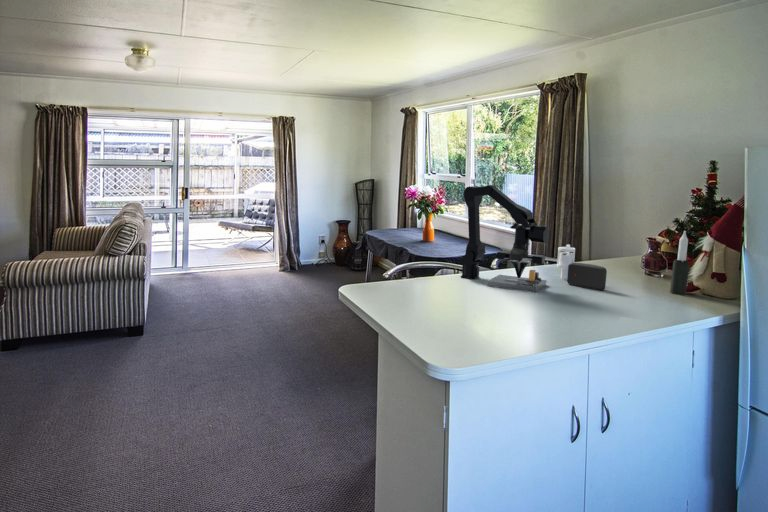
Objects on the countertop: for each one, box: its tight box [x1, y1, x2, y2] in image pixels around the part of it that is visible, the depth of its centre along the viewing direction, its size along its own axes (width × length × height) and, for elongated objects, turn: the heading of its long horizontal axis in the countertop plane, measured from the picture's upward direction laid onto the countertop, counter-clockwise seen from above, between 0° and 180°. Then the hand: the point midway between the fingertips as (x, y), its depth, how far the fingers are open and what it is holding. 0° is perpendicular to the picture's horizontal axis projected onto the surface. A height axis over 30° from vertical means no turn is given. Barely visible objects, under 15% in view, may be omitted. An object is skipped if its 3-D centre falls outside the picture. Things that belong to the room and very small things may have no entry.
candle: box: [669, 230, 690, 295], centre depth 210 cm, size 5×5×25 cm
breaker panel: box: [486, 271, 547, 293], centre depth 220 cm, size 20×16×5 cm
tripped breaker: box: [526, 269, 538, 283], centre depth 216 cm, size 4×3×5 cm
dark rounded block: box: [566, 262, 608, 291], centre depth 219 cm, size 16×5×9 cm, turn 43°
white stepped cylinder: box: [556, 244, 576, 281], centre depth 233 cm, size 7×7×15 cm
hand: (518, 277), depth 219 cm, fingers closed
